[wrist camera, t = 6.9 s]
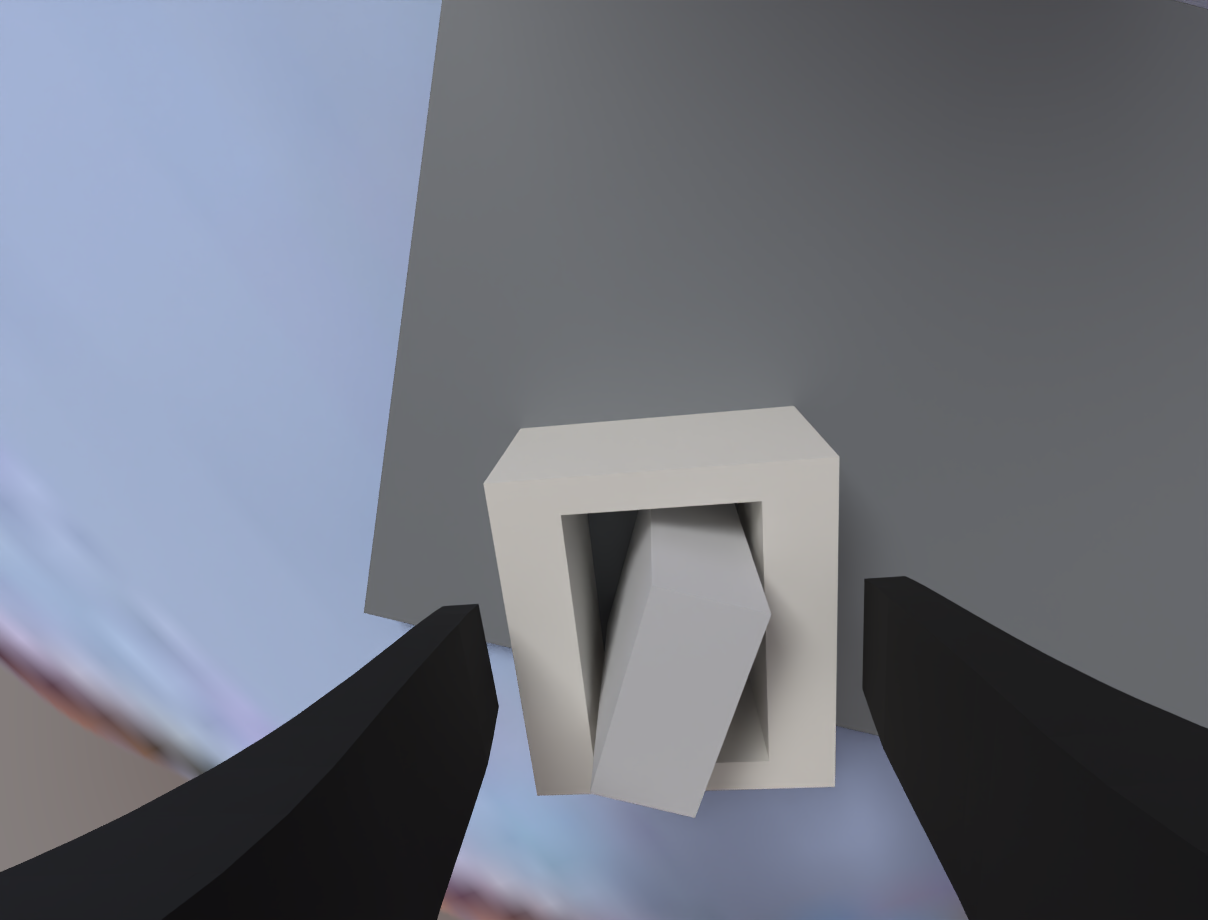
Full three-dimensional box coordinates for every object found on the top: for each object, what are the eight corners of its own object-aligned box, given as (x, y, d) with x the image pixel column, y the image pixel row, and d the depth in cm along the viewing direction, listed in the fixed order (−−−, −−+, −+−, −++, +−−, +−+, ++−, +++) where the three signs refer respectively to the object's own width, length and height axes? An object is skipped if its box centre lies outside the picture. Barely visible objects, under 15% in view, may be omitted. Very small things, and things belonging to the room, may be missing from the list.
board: (1647, 157, 11) (2585, 77, 6) (1201, 785, 15) (1485, 1065, 10) (482, -146, 10) (318, -531, 5) (381, 589, 15) (241, 774, 10)
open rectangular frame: (793, 405, 12) (840, 457, 9) (796, 675, 14) (834, 786, 11) (520, 428, 12) (483, 483, 10) (558, 685, 14) (537, 795, 12)
